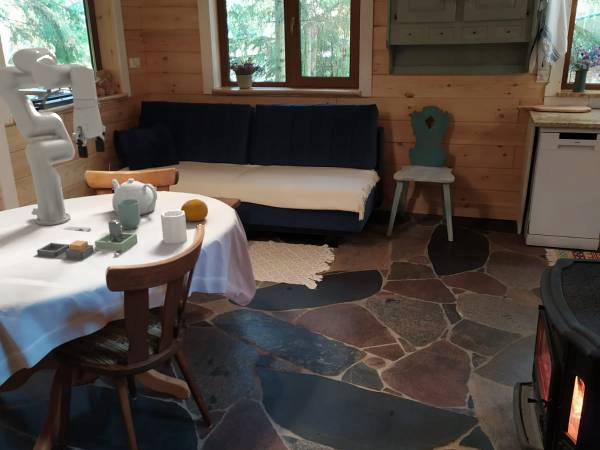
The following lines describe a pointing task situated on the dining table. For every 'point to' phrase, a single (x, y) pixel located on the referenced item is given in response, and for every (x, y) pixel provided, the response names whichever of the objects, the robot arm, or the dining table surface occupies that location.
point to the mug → (174, 226)
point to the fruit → (195, 210)
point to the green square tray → (121, 247)
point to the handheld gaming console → (78, 229)
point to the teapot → (135, 194)
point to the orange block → (78, 245)
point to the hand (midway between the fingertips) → (92, 154)
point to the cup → (129, 213)
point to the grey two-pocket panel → (65, 252)
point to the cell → (115, 231)
